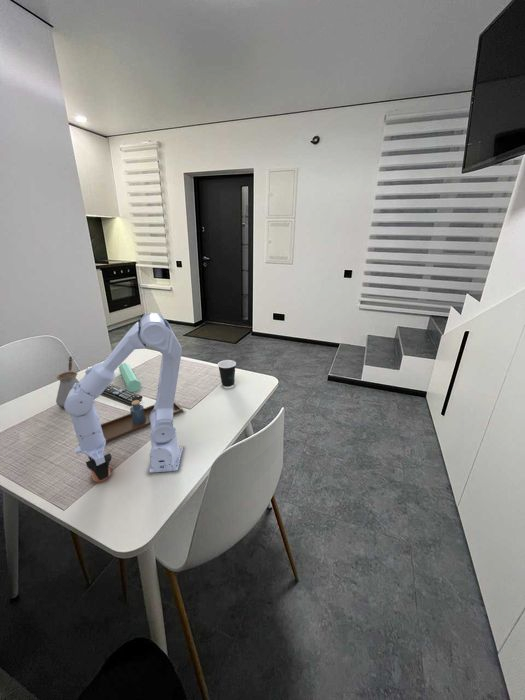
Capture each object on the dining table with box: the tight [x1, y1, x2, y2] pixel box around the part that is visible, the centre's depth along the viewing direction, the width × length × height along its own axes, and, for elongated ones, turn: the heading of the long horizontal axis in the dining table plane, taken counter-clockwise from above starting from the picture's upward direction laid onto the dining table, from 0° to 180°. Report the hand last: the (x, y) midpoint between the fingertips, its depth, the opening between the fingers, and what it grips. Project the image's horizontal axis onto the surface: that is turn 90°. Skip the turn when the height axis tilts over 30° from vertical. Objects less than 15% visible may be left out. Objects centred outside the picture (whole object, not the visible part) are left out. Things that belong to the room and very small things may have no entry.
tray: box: [100, 401, 184, 444], centre depth 103 cm, size 29×10×2 cm, turn 131°
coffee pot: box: [55, 356, 80, 409], centre depth 116 cm, size 21×12×15 cm, turn 25°
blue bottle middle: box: [129, 399, 146, 425], centre depth 102 cm, size 4×4×8 cm
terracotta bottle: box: [89, 458, 111, 483], centre depth 79 cm, size 4×4×8 cm
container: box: [118, 362, 142, 393], centre depth 132 cm, size 6×6×25 cm
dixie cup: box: [217, 359, 237, 389], centre depth 126 cm, size 8×8×11 cm
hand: (100, 469), depth 79 cm, fingers open, 7 cm apart
